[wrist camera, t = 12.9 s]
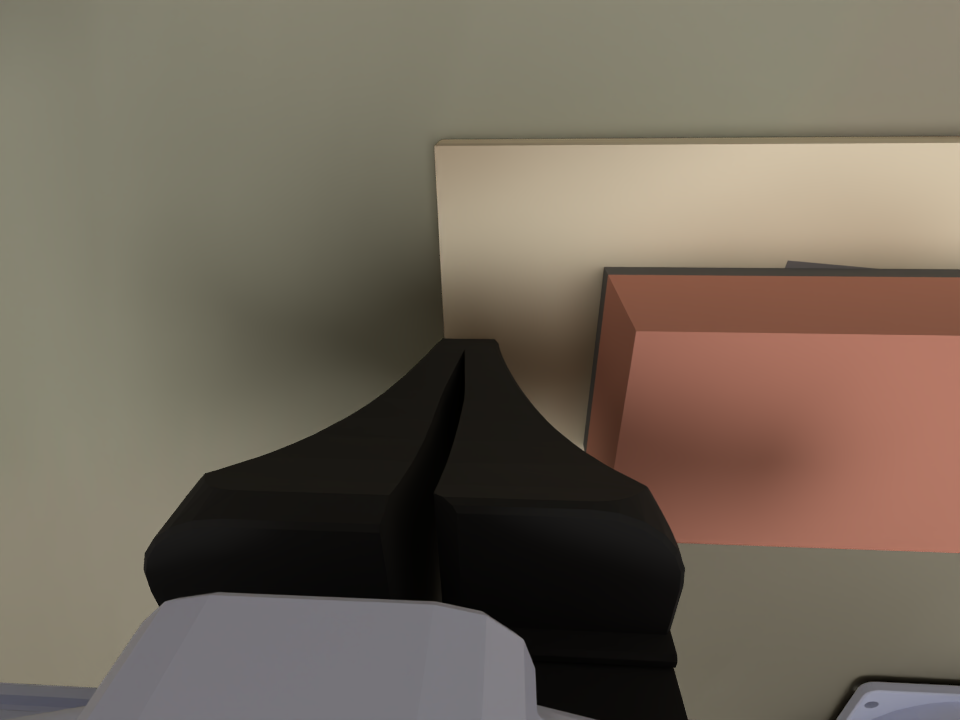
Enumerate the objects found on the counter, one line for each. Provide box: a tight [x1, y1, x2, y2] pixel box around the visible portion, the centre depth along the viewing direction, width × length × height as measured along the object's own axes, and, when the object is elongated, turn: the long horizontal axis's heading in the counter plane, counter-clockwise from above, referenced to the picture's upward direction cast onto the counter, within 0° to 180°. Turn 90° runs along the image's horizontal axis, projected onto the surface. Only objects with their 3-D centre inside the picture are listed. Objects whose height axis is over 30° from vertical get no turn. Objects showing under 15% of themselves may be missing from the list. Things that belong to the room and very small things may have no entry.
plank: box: [434, 136, 960, 451], centre depth 12 cm, size 10×22×1 cm, turn 91°
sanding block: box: [583, 267, 960, 553], centre depth 11 cm, size 5×8×3 cm, turn 91°
